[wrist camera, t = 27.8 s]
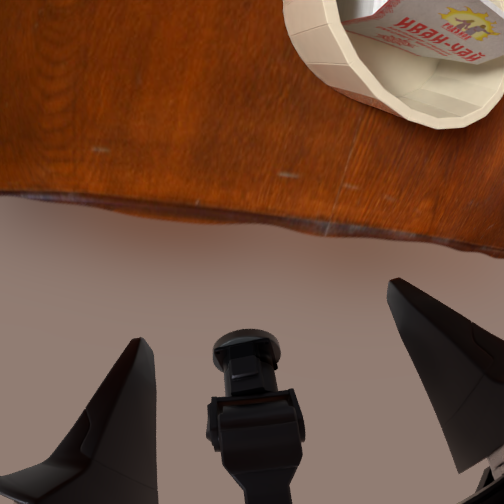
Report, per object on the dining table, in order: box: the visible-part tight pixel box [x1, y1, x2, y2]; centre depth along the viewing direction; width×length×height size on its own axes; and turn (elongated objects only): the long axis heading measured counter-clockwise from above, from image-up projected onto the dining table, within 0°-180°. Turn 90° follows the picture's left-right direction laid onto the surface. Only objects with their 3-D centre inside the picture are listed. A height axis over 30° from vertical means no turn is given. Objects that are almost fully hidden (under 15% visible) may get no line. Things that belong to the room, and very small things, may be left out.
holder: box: [283, 0, 504, 129], centre depth 11 cm, size 12×12×7 cm
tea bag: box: [336, 0, 504, 65], centre depth 9 cm, size 4×7×10 cm, turn 84°
